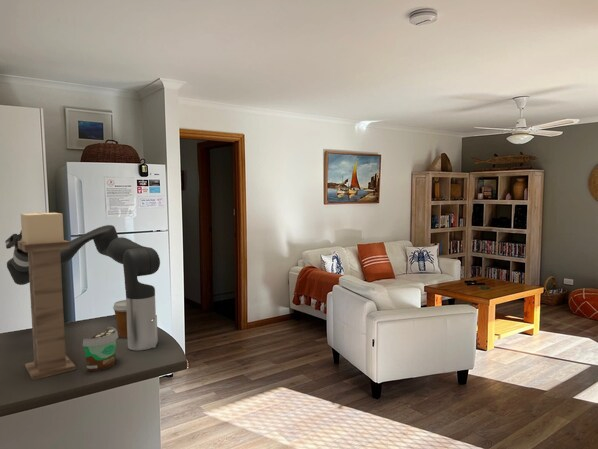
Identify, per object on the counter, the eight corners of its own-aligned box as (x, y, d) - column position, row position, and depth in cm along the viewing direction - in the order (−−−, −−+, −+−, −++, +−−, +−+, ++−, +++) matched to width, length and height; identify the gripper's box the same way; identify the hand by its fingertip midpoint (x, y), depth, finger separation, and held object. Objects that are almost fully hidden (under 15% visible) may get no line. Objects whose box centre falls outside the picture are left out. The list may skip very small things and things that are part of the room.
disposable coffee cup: (116, 341, 154) (114, 307, 153) (112, 333, 163) (111, 301, 162) (144, 336, 159) (143, 303, 158) (139, 329, 167) (138, 298, 166)
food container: (102, 374, 127) (101, 340, 126) (83, 373, 128) (82, 339, 127) (127, 358, 139) (126, 327, 138) (110, 356, 140) (108, 326, 139)
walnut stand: (75, 369, 130) (69, 241, 127) (33, 380, 123) (25, 245, 120) (65, 357, 140) (59, 238, 136) (25, 367, 132) (17, 241, 129)
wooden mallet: (63, 241, 128) (62, 213, 127) (27, 244, 122) (26, 214, 122) (47, 235, 145) (45, 210, 144) (15, 237, 139) (13, 211, 138)
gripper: (0, 243, 146) (5, 220, 134) (48, 240, 156) (57, 218, 144) (3, 264, 144) (8, 242, 132) (52, 259, 153) (61, 239, 141)
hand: (34, 230), depth 138 cm, fingers closed on wooden mallet, 4 cm apart
